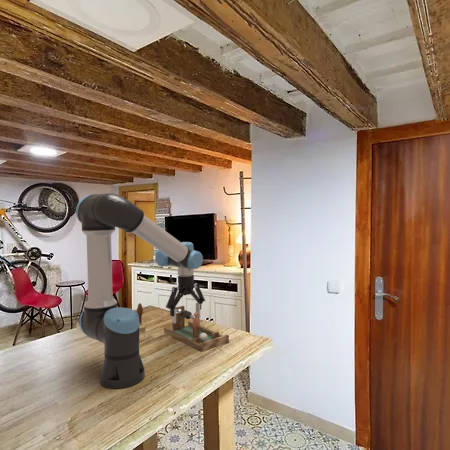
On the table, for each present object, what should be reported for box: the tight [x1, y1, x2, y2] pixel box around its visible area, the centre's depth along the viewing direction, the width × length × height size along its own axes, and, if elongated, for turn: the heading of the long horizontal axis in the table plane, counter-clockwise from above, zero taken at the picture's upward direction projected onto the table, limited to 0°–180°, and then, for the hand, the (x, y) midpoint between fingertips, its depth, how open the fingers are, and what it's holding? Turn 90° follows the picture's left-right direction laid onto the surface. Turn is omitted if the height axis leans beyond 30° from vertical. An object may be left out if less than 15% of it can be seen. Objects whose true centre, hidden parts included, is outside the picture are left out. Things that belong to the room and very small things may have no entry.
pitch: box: [163, 305, 230, 352], centre depth 153 cm, size 15×30×12 cm, turn 40°
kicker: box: [167, 308, 201, 338], centre depth 161 cm, size 3×27×11 cm, turn 40°
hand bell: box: [136, 303, 150, 342], centre depth 155 cm, size 8×8×16 cm
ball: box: [200, 333, 207, 341], centre depth 148 cm, size 4×4×4 cm
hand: (186, 319), depth 158 cm, fingers open, 13 cm apart
